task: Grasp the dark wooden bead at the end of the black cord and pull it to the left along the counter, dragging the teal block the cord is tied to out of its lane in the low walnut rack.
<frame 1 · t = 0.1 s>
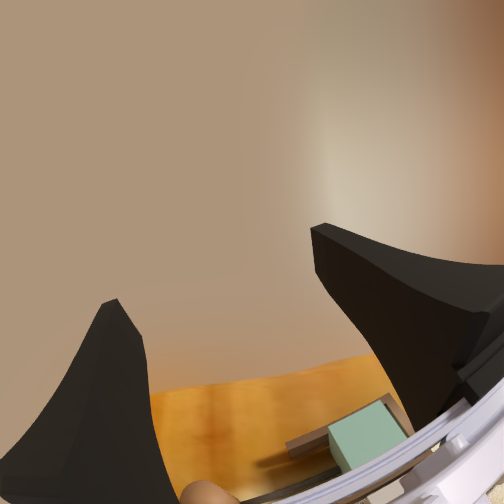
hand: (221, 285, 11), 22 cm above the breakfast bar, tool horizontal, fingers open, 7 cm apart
tethered block: (363, 458, 21), on the breakfast bar
walnut rack: (369, 491, 18), on the breakfast bar
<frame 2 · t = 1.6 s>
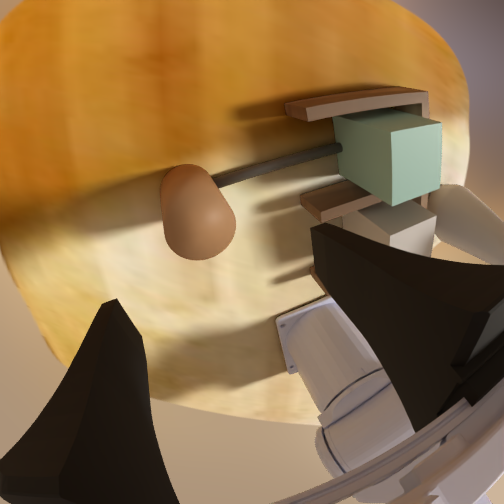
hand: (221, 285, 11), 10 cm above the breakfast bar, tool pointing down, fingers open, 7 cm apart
grey block: (364, 215, 24), resting in walnut rack
salt shaker: (436, 203, 27), on the breakfast bar
tethered block: (361, 139, 20), on the breakfast bar
walnut rack: (353, 183, 22), on the breakfast bar
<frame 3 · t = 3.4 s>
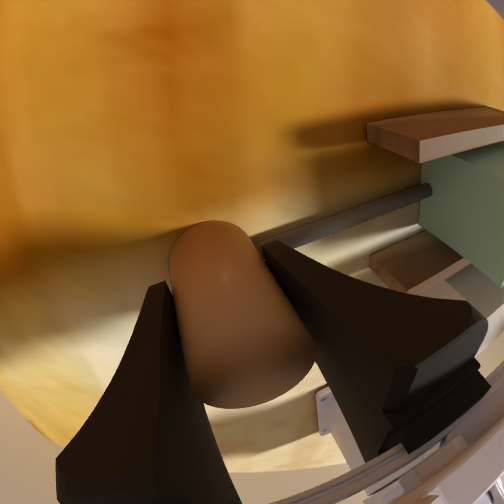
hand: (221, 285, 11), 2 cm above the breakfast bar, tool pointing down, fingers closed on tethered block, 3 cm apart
grey block: (433, 270, 17), resting in walnut rack
tethered block: (447, 176, 14), on the breakfast bar, touching gripper
walnut rack: (431, 233, 15), on the breakfast bar
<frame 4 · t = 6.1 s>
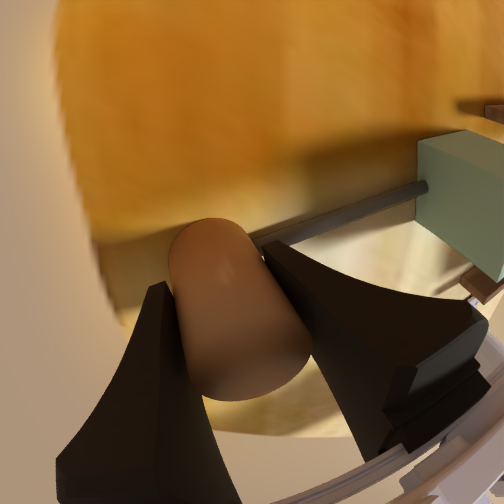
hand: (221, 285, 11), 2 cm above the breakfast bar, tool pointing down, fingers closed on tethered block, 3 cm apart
tethered block: (443, 173, 14), on the breakfast bar, touching gripper
when the fingers open (2 cm above the breakfast bar, at t = 7.0 s): tethered block stays where it is, on the breakfast bar.
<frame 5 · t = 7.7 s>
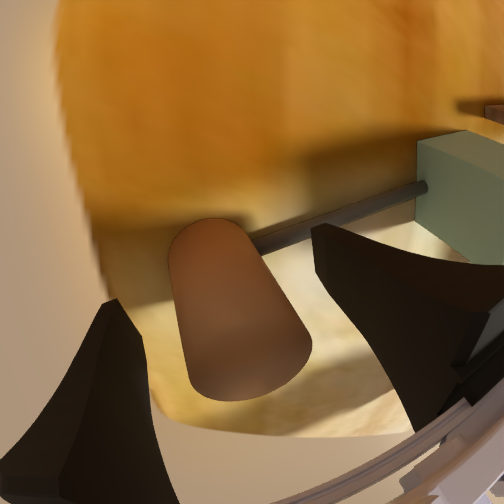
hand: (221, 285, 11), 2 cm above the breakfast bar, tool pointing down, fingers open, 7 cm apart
tethered block: (443, 173, 14), on the breakfast bar
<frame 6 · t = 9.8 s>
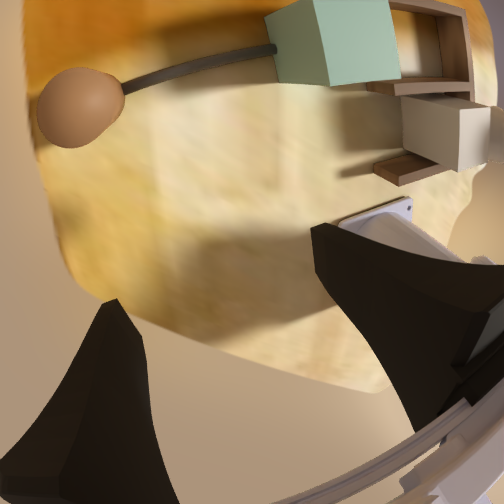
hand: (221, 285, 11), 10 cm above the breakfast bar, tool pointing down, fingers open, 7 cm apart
grey block: (419, 119, 21), resting in walnut rack
salt shaker: (475, 126, 23), on the breakfast bar
tethered block: (304, 45, 16), on the breakfast bar
walnut rack: (410, 82, 19), on the breakfast bar
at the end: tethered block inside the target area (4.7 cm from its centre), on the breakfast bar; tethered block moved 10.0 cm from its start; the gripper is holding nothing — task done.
